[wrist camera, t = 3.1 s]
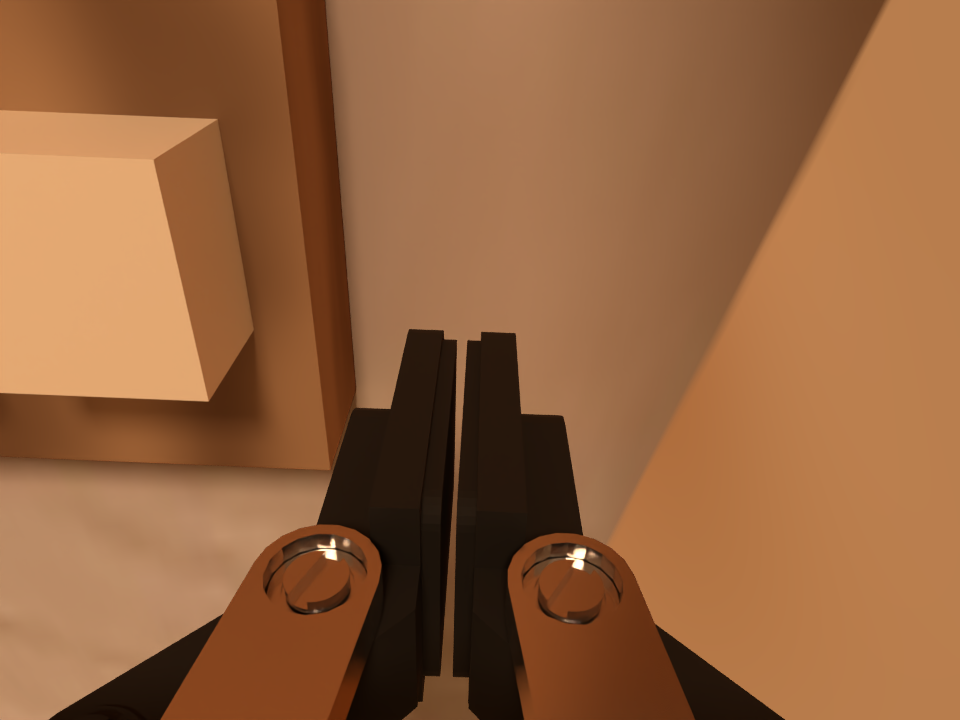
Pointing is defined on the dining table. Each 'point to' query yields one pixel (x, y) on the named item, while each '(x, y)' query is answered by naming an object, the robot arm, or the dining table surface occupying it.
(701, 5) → the dining table surface
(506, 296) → the dining table surface
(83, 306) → the tile
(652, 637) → the robot arm
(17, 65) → the board
